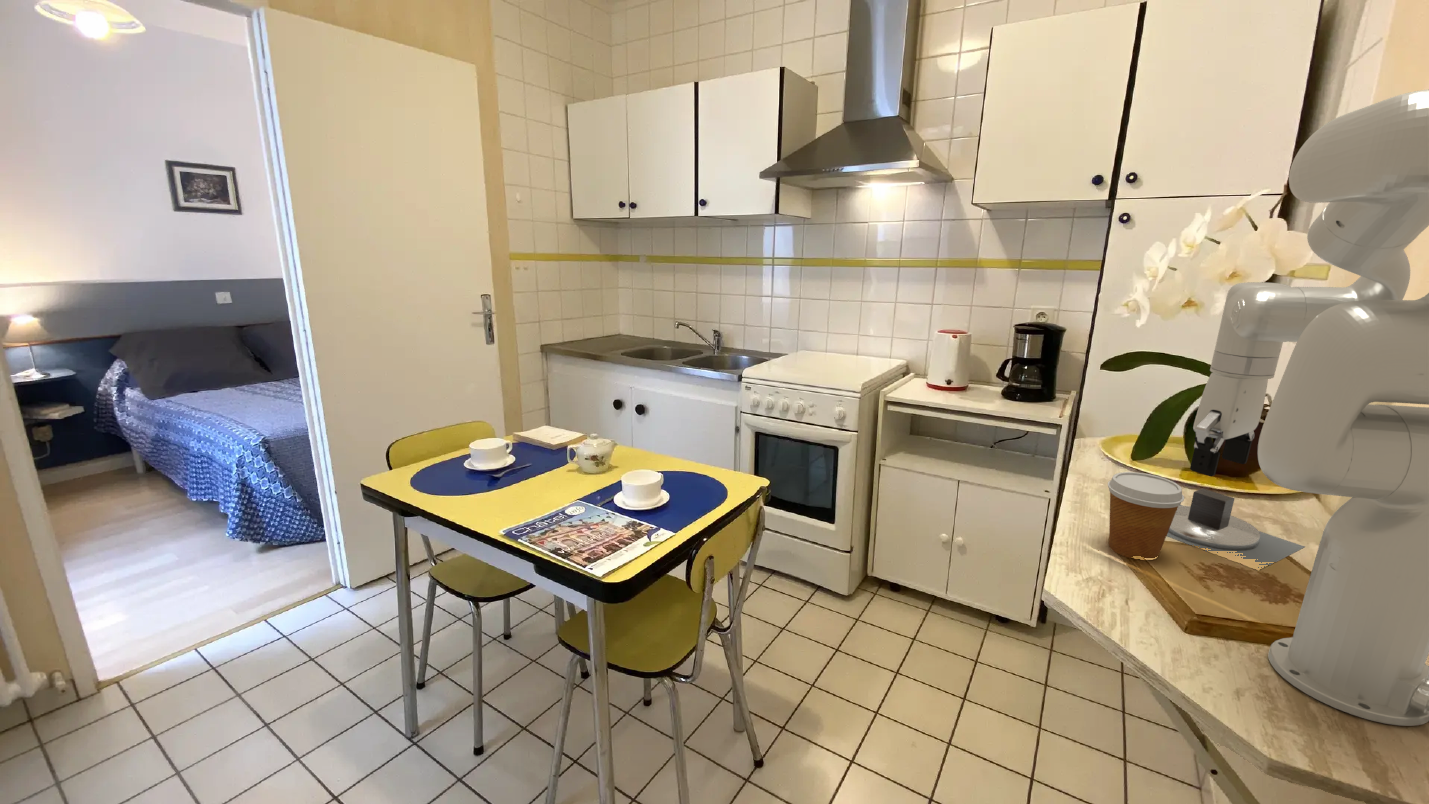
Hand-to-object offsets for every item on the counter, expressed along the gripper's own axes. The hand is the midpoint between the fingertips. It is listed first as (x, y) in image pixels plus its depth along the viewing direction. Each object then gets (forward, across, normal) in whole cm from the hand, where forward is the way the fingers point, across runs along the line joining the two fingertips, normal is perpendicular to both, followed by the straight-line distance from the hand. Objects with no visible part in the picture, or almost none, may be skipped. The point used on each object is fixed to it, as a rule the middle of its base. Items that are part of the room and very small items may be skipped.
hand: (1218, 467), depth 96 cm
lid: (+11, +1, +1) cm, 11 cm away
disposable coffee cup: (+12, +18, -1) cm, 21 cm away
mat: (+12, +1, +1) cm, 12 cm away
